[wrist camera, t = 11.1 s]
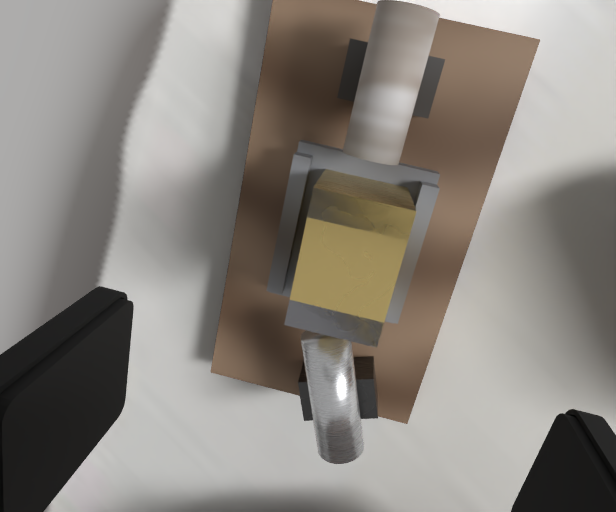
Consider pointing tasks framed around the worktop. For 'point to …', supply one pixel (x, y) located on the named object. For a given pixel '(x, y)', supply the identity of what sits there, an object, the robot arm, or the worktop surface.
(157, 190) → the worktop surface
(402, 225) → the coupler
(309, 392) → the shaft
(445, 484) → the worktop surface
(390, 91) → the rig
